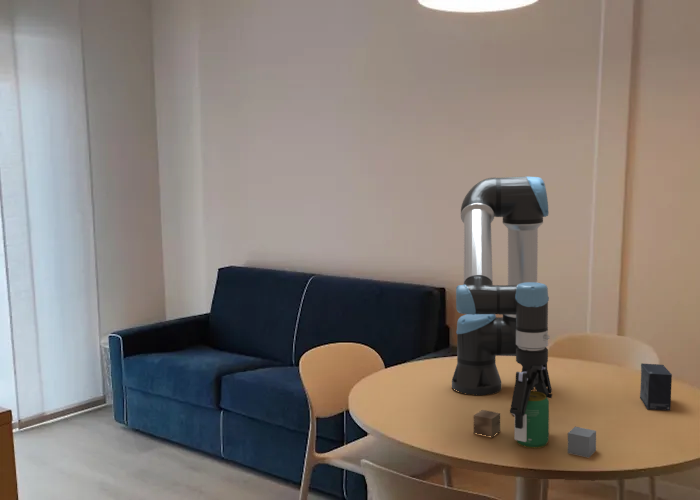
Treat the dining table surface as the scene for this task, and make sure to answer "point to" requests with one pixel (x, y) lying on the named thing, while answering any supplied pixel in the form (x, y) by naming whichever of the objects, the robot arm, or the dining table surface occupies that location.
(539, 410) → the beverage can
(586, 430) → the slate block
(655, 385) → the small box
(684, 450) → the dining table surface
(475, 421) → the walnut block
